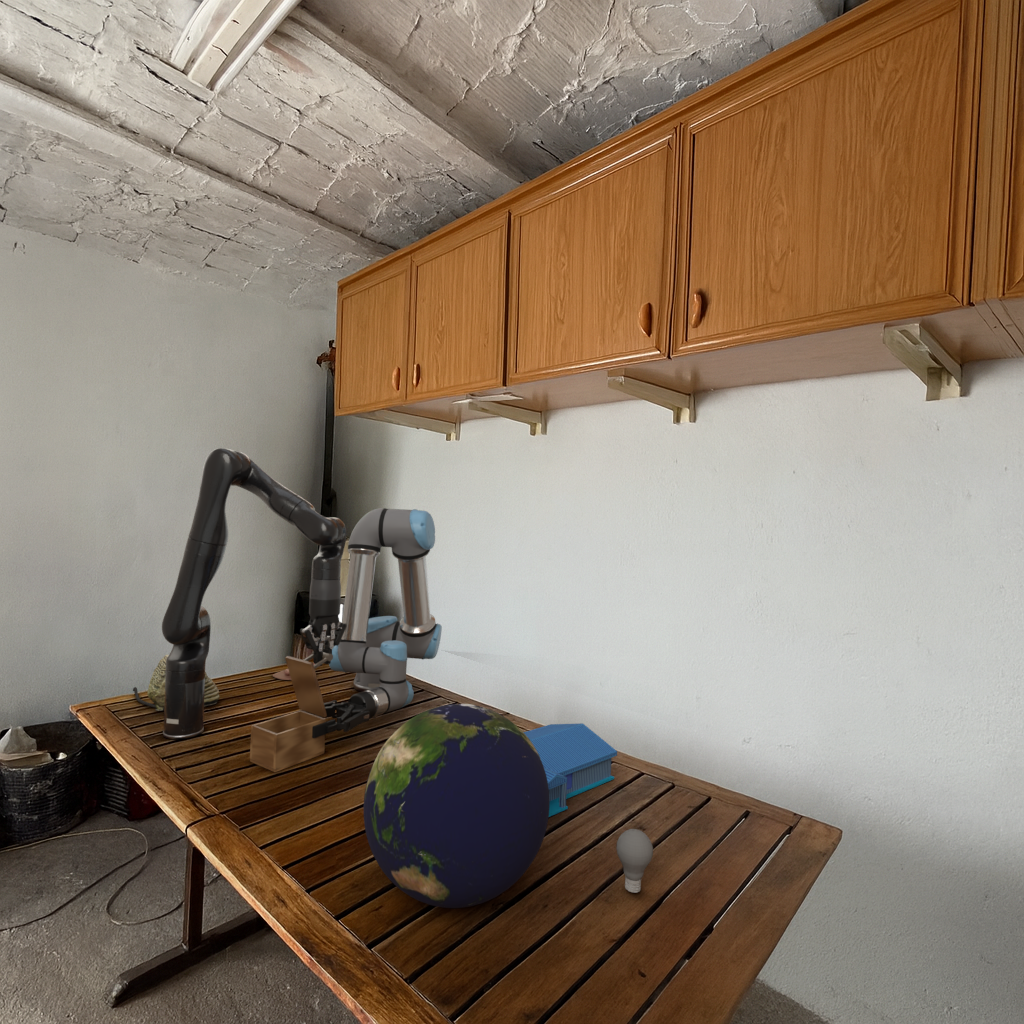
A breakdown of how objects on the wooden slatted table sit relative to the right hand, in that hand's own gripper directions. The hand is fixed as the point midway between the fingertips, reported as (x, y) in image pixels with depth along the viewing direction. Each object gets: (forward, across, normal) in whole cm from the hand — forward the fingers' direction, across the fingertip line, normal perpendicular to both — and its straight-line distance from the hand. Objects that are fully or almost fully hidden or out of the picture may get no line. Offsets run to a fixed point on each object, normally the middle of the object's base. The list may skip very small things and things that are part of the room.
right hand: (299, 727), depth 155 cm
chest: (+3, 0, -6) cm, 7 cm away
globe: (+20, -64, -6) cm, 68 cm away
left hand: (-6, 0, +14) cm, 16 cm away
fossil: (-1, +53, -6) cm, 53 cm away
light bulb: (+1, -88, -6) cm, 88 cm away
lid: (-1, 0, +10) cm, 10 cm away
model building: (-20, -54, -6) cm, 58 cm away
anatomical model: (-41, +55, -7) cm, 69 cm away
